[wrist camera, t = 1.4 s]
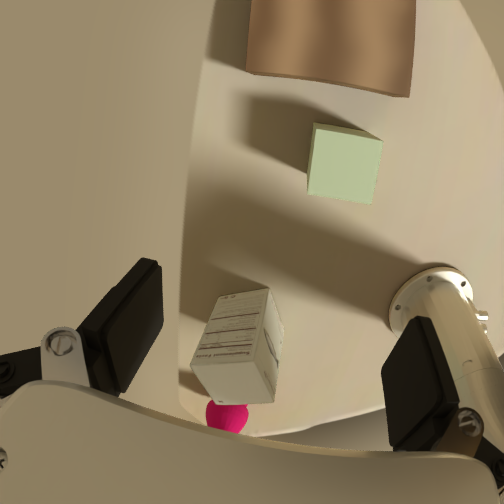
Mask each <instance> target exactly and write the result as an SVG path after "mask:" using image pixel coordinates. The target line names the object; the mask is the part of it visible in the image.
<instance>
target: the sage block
mask: <svg viewBox="0 0 504 504" xmlns="http://www.w3.org/2000/svg"><path fill="white" fill-rule="evenodd" d="M383 142H384V141H382V140H380V139H379V138H377V137H375V136H374V135H372V134H370V133H368V132H366V131H361V130H356V129H351V128H345V127H340V126H334V125H328V124H322V123H315V122H314V123H313V131H312V139H311V147H310V155H309V162H308V170H307V194H309V195H316V196H322V197H328V198H335V199H341V200H346V201H352V202H358V203H363V204H369V205H371V203H372V198H373V194H374V189H375V184H376V179H377V174H378V169H379V164H380V159H381V153H382V148H383Z"/></svg>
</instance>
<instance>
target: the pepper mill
mask: <svg viewBox="0 0 504 504" xmlns="http://www.w3.org/2000/svg"><path fill="white" fill-rule="evenodd" d="M247 405H248V404H241V405H217V404H215V402H214V401H213V400H211V401H210V402H209V403H208V405H207V408H206V420H207V425H208V427H212V428H216V429H220V430H224V431H228V432H233V433H237V434H238V433H239V432H240V431H241V430H242V428H243V427H244V425H245V424H246V422H247V419H248V410H247V408H246V407H247Z"/></svg>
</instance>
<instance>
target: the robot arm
mask: <svg viewBox="0 0 504 504" xmlns="http://www.w3.org/2000/svg"><path fill="white" fill-rule="evenodd" d="M162 295H163V293H162V267H161V266H159V265H158V262H157V261H156V260H151V259H147V258H141V259H140V260H139V261H138V262H137V263H136V264H135V265H134V266H133V267H132V269H131V270H130V271H129V272H128V273H127V274H126V275H125V276H124V277H123V278H122V280H121V281H120V282H119V283H118V284H117V285H116V286H115V287H113V288H111V290H110V291H109V292H108V293H107V294H106V295H105V296H104V298H103V299H102V300H101V301H100V302H99V303H98V305H97V306H96V307H95V308H94V309H93V310H92V312H91V313H90V314H89V315H88V316H87V317H86V318H85V320H84V321H83V322H82V323H81V325H80V326H79V327H78V328H77V329H76V330H74V329H72V328H69V327H57V328H54V329H52V330H50V331H49V332H47V333H46V334H45V335H44V337H43V339H42V340H41V346H40V347H35V348H31V349H27V350H22V351H18V352H13V353H9V354H4V355H0V504H504V370H503V368H502V366H501V364H500V362H499V360H498V357H497V355H496V353H495V351H494V349H493V347H492V345H491V343H490V341H489V339H488V337H487V335H486V332H487V327H486V325H485V324H480V322H479V321H486V320H487V318H488V313H487V312H486V311H477V310H476V308H475V307H474V305H473V303H472V302H473V291H472V286H471V284H470V283H469V281H468V279H467V278H466V277H465V275H464V274H462V273H461V272H460V271H458V270H456V269H454V268H449V267H436V268H431V269H428V270H425V271H423V272H420V273H419V274H417V275H415V276H413V277H412V278H411V279H409V280H408V281H407V282H406V283H405V284H404V285H403V286H402V287H401V288H400V289H399V290H398V292H397V293H396V295H395V296H394V298H393V300H392V302H391V304H390V309H389V322H390V326H391V329H392V331H393V333H394V334H395V336H396V337H397V338H399V340H398V341H397V343H396V345H395V346H394V348H393V350H392V351H391V353H390V355H389V356H388V358H387V360H386V361H385V363H384V364H383V366H382V370H381V377H382V384H383V391H384V398H385V406H386V414H387V424H388V434H389V443H390V445H391V446H393V451H361V450H345V449H332V448H323V447H314V446H306V445H298V444H291V443H285V442H278V441H273V440H267V439H262V438H256V437H251V436H247V435H242V434H237V433H233V432H228V431H224V430H220V429H216V428H212V427H208V426H204V425H201V424H197V423H193V422H190V421H186V420H183V419H180V418H176V417H173V416H170V415H167V414H164V413H161V412H158V411H155V410H152V409H149V408H146V407H142V406H140V405H137V404H134V403H131V402H129V401H126V400H123V399H120V398H118V397H119V395H120V393H125V392H126V390H127V389H128V387H129V385H130V383H131V381H132V379H133V378H134V376H135V374H136V373H137V371H138V369H139V367H140V365H141V364H142V362H143V360H144V358H145V357H146V355H147V353H148V351H149V350H150V348H151V346H152V345H153V343H154V341H155V339H156V338H157V336H158V334H159V332H160V330H161V329H162V326H163V322H164V318H163V296H162Z"/></svg>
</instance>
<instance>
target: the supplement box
mask: <svg viewBox="0 0 504 504" xmlns="http://www.w3.org/2000/svg"><path fill="white" fill-rule="evenodd" d="M283 335H284V327H283V325H282V323H281V320H280V318H279V315H278V312H277V309H276V306H275V303H274V300H273V297H272V294H271V291H270V288H266V289H260V290H254V291H248V292H242V293H237V294H231V295H225V296H220V297H218V300H217V302H216V304H215V306H214V309H213V311H212V314H211V316H210V318H209V320H208V323H207V325H206V328H205V330H204V332H203V335H202V337H201V339H200V342H199V344H198V346H197V349H196V351H195V353H194V356H193V358H192V361H191V363H190V367H191V369H192V370H193V372H194V373H195V375H196V376H197V378H198V379H199V381H200V382H201V384H202V385H203V387H204V388H205V390H206V391H207V392H208V394H209V395H210V397H211V398H212V399H213V401H214V402H215V404H217V405H241V404H262V403H273V402H274V398H275V392H276V385H277V378H278V371H279V364H280V357H281V350H282V342H283Z"/></svg>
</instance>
